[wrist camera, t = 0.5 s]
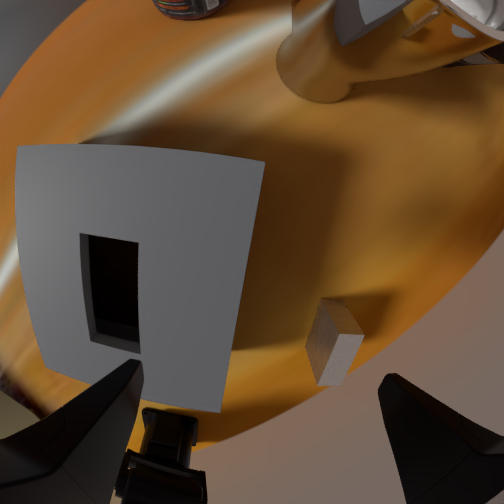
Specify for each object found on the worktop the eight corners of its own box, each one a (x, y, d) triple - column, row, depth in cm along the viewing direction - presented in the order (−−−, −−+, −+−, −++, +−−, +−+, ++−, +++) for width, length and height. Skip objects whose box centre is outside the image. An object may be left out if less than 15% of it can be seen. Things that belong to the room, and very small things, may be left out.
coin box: (224, 351, 23) (220, 413, 17) (81, 321, 22) (45, 367, 15) (256, 160, 18) (265, 162, 11) (76, 144, 17) (17, 146, 10)
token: (325, 347, 24) (340, 385, 19) (304, 346, 23) (316, 385, 19) (342, 300, 22) (364, 335, 17) (321, 298, 22) (339, 333, 17)
